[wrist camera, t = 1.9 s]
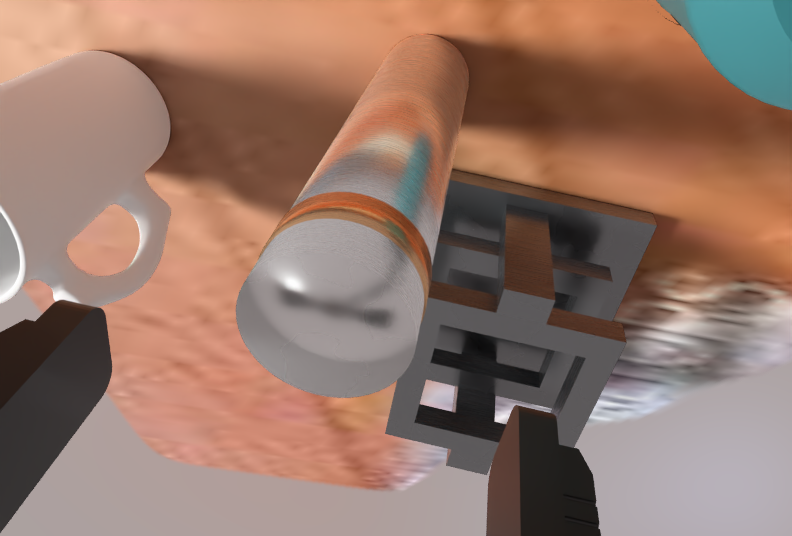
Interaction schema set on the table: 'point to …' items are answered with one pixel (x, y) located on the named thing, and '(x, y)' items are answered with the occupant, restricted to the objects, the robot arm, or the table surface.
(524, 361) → the collar stand
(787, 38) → the beverage bottle
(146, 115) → the mug
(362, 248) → the steel tube
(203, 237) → the table surface
